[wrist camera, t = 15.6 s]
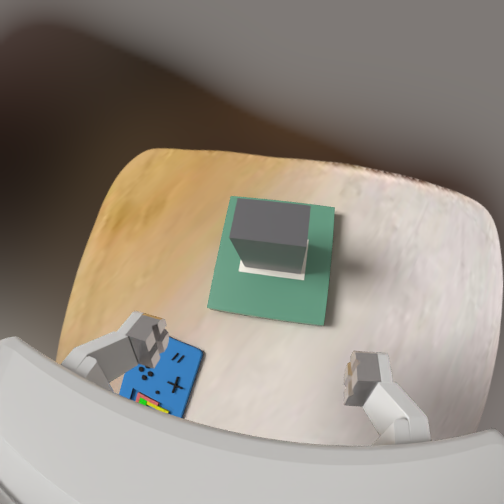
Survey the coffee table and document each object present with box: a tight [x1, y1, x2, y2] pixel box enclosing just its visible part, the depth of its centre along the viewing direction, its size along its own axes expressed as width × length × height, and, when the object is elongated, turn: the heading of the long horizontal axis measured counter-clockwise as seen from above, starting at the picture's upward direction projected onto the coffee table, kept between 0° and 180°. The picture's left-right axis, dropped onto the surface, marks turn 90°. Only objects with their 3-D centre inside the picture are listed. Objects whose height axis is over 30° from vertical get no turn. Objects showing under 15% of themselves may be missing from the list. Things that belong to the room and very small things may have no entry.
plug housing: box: [229, 198, 311, 274], centre depth 25 cm, size 3×6×8 cm, turn 81°
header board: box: [207, 196, 335, 326], centre depth 28 cm, size 13×12×4 cm
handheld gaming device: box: [119, 337, 203, 418], centre depth 27 cm, size 8×1×15 cm
